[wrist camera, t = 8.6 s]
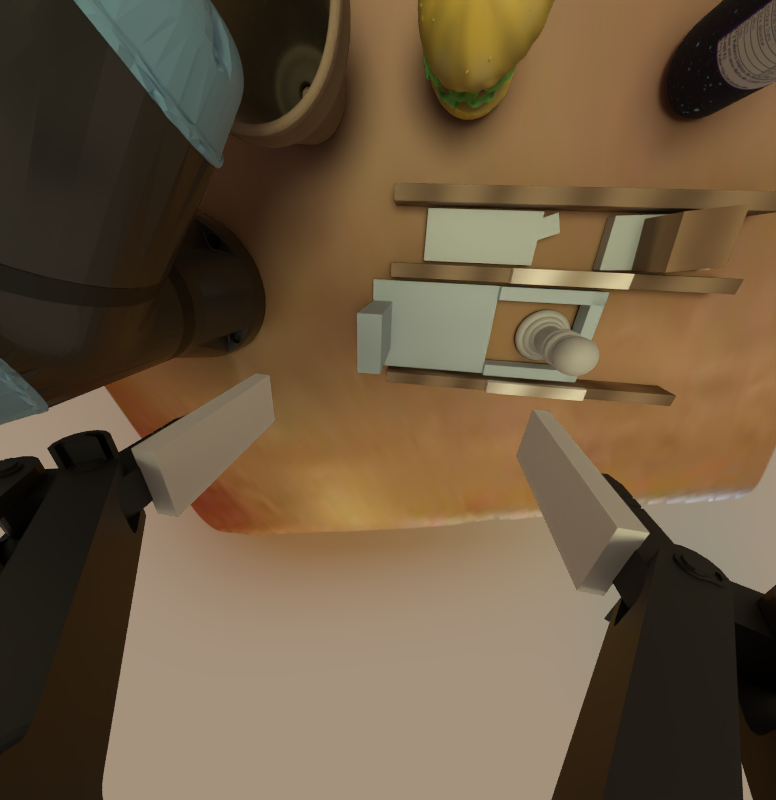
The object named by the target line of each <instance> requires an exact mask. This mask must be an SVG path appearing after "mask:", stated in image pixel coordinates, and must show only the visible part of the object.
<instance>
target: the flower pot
mask: <svg viewBox="0 0 776 800" xmlns="http://www.w3.org/2000/svg"><path fill="white" fill-rule="evenodd" d="M210 1H211V2H212V4H213V5H214V7H215V8H216V10H217V11H218V13H219V14H220V16H221V18H222V19H223V21H224V23H225V24H226V26H227V28H228V30H229V32H230V34H231V36H232V38H233V40H234V42H235V45H236V47H237V50H238V53H239V56H240V60H241V64H242V69H243V77H244V88H243V95H242V99H241V103H240V105H239V108H238V111H237V114H236V116H235V119H234V122H233V125H232V127H231V130H230V133H231V134H233V135H234V136H236V137H238V138H240V139H241V140H243V141H245V142H248V143H250V144H252V145H256V146H260V147H264V148H282V147H286V146H290V145H293V144H295V143H296V144H303V145H316V144H319V143H322V142H324V141H326V140H327V139H328V138H329V137H331V136H332V135H333V133H334V132H335V131H336V129H337V128H338V126H339V124H340V121H341V119H342V116H343V112H344V108H345V99H346V78H345V69H346V63H347V58H348V50H349V41H350V1H349V0H210ZM305 85H309V86H310V88H309V89H308V91H307V92H306V94H305V95H304V97H303V98H302V96H301V92H302V89H303V87H304V86H305Z"/></svg>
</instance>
